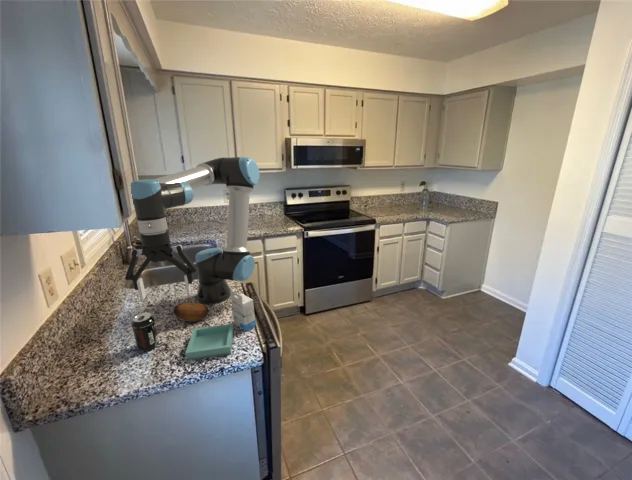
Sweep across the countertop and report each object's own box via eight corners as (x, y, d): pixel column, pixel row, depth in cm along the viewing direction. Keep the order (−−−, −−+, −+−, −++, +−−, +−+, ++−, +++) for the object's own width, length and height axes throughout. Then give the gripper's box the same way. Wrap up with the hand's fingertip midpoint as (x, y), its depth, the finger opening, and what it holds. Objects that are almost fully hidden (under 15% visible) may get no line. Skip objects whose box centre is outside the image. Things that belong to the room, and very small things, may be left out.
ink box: (256, 326, 113) (253, 292, 109) (245, 332, 110) (241, 297, 106) (244, 318, 119) (240, 285, 115) (233, 323, 116) (229, 290, 111)
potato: (207, 322, 122) (207, 321, 115) (172, 321, 118) (170, 320, 111) (209, 304, 125) (210, 302, 118) (175, 303, 120) (173, 300, 113)
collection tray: (195, 335, 108) (193, 328, 108) (233, 330, 111) (232, 323, 110) (186, 360, 95) (185, 353, 94) (230, 354, 98) (229, 346, 97)
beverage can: (133, 353, 99) (126, 323, 96) (143, 341, 106) (136, 312, 102) (154, 352, 100) (147, 321, 96) (162, 340, 106) (156, 310, 103)
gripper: (101, 239, 81) (118, 306, 88) (196, 231, 87) (206, 295, 93) (112, 232, 88) (127, 295, 94) (199, 225, 94) (208, 285, 100)
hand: (166, 295), depth 94 cm, fingers open, 13 cm apart
